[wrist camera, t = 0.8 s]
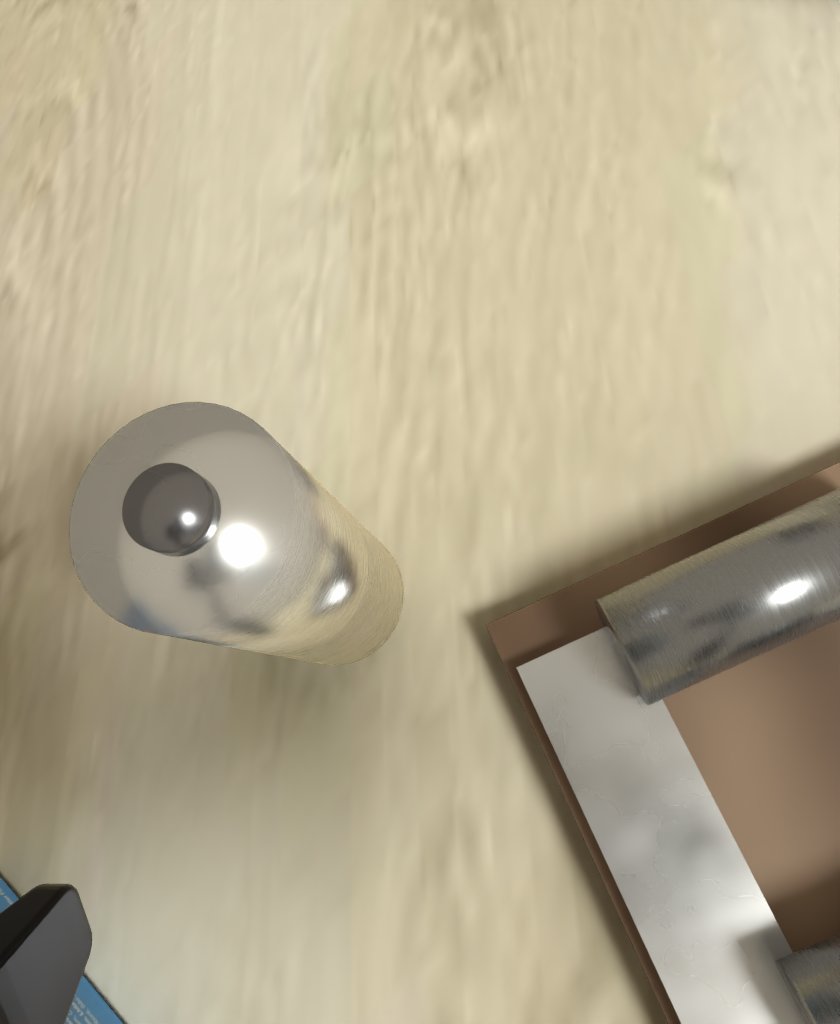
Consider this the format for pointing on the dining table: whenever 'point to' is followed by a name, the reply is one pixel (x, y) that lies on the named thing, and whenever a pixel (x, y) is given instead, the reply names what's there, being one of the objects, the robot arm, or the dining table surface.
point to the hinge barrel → (228, 542)
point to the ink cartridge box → (88, 1011)
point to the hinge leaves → (673, 773)
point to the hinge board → (729, 733)
